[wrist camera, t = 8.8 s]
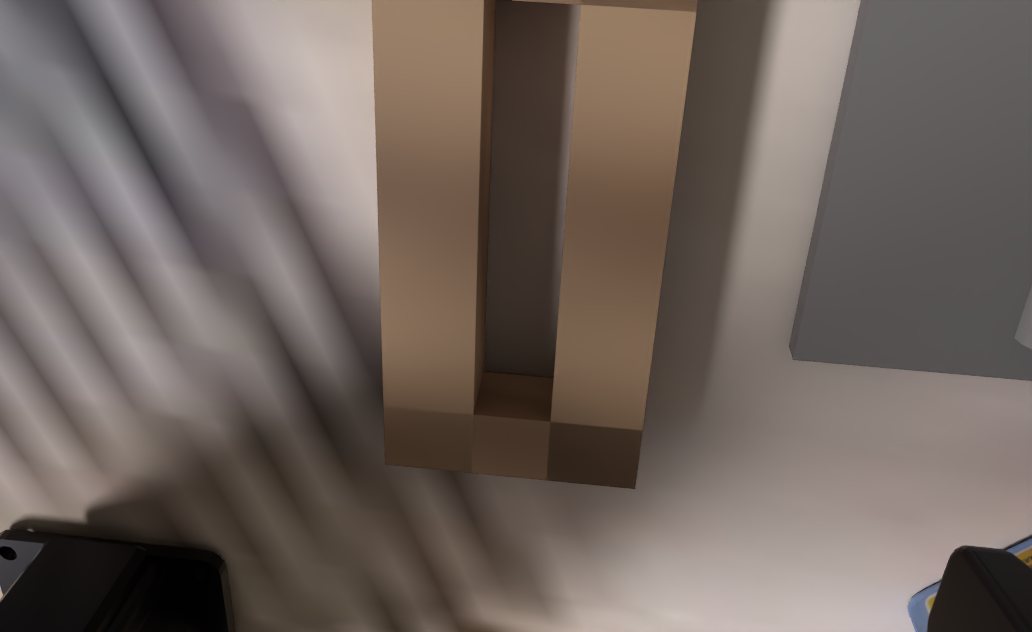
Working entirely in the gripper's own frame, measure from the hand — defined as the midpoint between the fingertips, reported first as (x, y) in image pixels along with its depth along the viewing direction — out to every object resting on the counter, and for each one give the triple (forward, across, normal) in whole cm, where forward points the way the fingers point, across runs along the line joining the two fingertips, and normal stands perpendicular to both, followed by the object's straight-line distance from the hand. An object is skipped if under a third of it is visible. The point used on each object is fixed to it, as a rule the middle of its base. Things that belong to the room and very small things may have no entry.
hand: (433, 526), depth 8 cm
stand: (+13, 0, +2) cm, 13 cm away
